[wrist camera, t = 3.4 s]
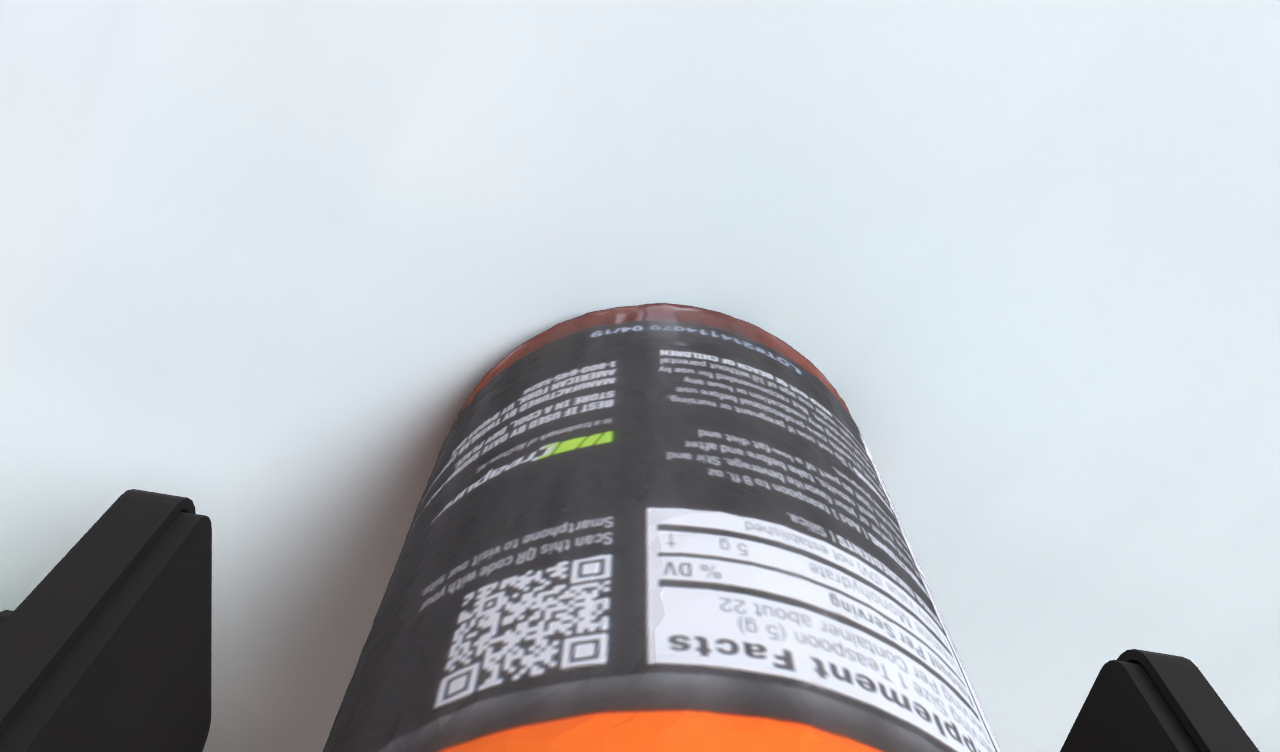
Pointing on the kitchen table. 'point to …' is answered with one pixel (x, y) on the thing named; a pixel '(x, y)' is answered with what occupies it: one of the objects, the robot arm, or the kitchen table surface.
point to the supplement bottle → (657, 564)
